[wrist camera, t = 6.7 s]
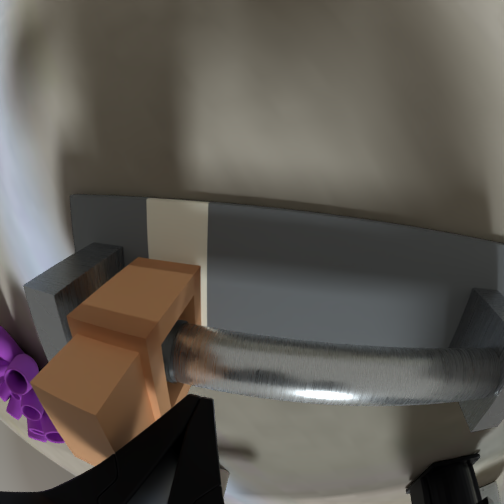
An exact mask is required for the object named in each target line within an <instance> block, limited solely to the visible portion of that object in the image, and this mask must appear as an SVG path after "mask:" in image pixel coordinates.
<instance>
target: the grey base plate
mask: <svg viewBox="0 0 504 504" xmlns="http://www.w3.org/2000/svg"><path fill="white" fill-rule="evenodd" d="M70 208H71V219H72V229H73V237H74V245H75V253H76V252H78V251H79V250H81V249H83V248H84V247H86V246H88V245H90V244H91V243H93V242H94V243H102V244H109V245H116V246H123V250H124V261H125V267H126V266H127V265H129V264H130V263H131V262H132V261H134V260H135V259H136V258H138V257H141V258H148V259H155V260H162V261H169V262H176V263H183V264H191V265H198V266H201V326H207V327H213V328H219V329H225V330H231V331H237V332H244V333H251V334H258V335H265V336H273V337H281V338H289V339H298V340H307V341H317V342H328V343H339V344H352V345H367V346H385V347H410V348H448V347H449V345H450V343H451V341H452V338H453V336H454V334H455V332H456V329H457V327H458V325H459V322H460V320H461V317H462V315H463V312H464V310H465V307H466V305H467V302H468V299H469V297H470V294H471V291H472V288H481V289H491V290H498V291H499V292H500V293H501V294H502V295H503V296H504V244H503V243H499V242H494V241H489V240H484V239H479V238H474V237H469V236H464V235H459V234H453V233H448V232H442V231H437V230H431V229H425V228H419V227H413V226H407V225H401V224H395V223H388V222H382V221H375V220H368V219H361V218H354V217H347V216H340V215H332V214H324V213H316V212H308V211H300V210H291V209H282V208H273V207H263V206H254V205H243V204H233V203H221V202H209V201H197V200H183V199H169V198H153V197H135V196H114V195H87V194H73V195H70Z"/></svg>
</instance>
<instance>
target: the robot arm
mask: <svg viewBox="0 0 504 504" xmlns="http://www.w3.org/2000/svg"><path fill="white" fill-rule="evenodd" d="M479 458H480V455H479V454H475V455H471V456H467V457H463V458H458V459H454V460H449V461H444V462H438V463H435V464H433V465H431V466H430V467H429V468H428V469H427V470H426V471H425V472H424V473H423V474H422V475H421V476H420V477H419V478H418V479H417V480H416V481H415V482H414V483H413V484H412V485H411V486H410V487H408V488H407V489H406V494H409V493H410V495H411V502H412V504H494V503H493V500H492V499H490V498H489V497H488V496H487V497H485V498H484V499H483V500H482V497H481V493H480V489H479V486H478V482H477V479H476V475H475V472H474V469H473V464H474V463H475V462H476V461H477V460H478V459H479ZM0 504H224V499H223V491H222V484H221V475H220V465H219V455H218V445H217V434H216V422H215V410H214V400H213V399H212V398H207V397H200V396H198V395H193V394H188V395H187V396H185V397H184V398H183V399H182V400H181V401H179V402H178V403H177V404H176V405H175V406H173V407H172V408H171V409H170V410H169V411H167V412H166V413H165V414H164V415H162V416H161V417H160V418H159V419H157V420H156V421H155V422H154V423H152V424H151V425H150V426H149V427H147V428H146V429H145V430H144V431H142V432H141V433H140V434H139V435H137V436H136V437H135V438H133V439H132V440H131V441H129V442H128V443H127V444H126V445H124V446H123V447H122V448H120V449H119V450H118V451H116V452H115V454H112V455H111V456H109V457H108V458H107V459H105V460H104V461H102V462H101V463H99V464H98V465H96V466H95V467H93V468H92V469H90V470H88V471H86V472H84V473H83V474H81V475H79V476H77V477H75V478H73V479H71V480H69V481H67V482H65V483H63V484H61V485H59V486H56V487H54V488H52V489H49V490H45V491H40V492H2V491H0Z"/></svg>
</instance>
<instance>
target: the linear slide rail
mask: <svg viewBox="0 0 504 504" xmlns="http://www.w3.org/2000/svg"><path fill="white" fill-rule="evenodd" d="M124 268H125V261H124V250H123V246H116V245H109V244H102V243H94V242H93V243H91V244H90V245H88V246H86V247H84V248H83V249H81V250H79V251H78V252H76V253H74V254H72V255H71V256H69V257H67V258H66V259H64V260H63V261H61V262H59V263H58V264H56V265H54V266H53V267H51V268H50V269H48V270H46V271H45V272H43V273H42V274H40V275H39V276H37V277H35V278H34V279H32V280H31V281H29V282H28V283H26V284H25V285H23V287H24V290H25V294H26V298H27V301H28V305H29V308H30V312H31V315H32V318H33V321H34V324H35V327H36V330H37V333H38V336H39V339H40V341H41V344H42V347H43V349H44V352H45V355H46V357H47V360H48V362H49V361H50V360H51V359H52V358H53V357H54V356H55V355H56V354H57V353H58V352H59V351H60V350H61V349H62V348H63V347H64V346H65V345H66V344H67V343H68V342H69V341H70V340H71V339H72V334H71V331H70V328H69V324H68V320H67V317H66V316H67V315H68V314H69V313H70V312H72V311H73V310H74V309H75V308H76V307H77V306H79V305H80V304H81V303H82V302H83V301H85V300H86V299H87V298H88V297H89V296H90V295H92V294H93V293H94V292H95V291H96V290H98V289H99V288H100V287H101V286H103V285H104V284H105V283H106V282H107V281H109V280H110V279H111V278H112V277H114V276H115V275H116V274H117V273H119V272H120V271H121V270H122V269H124ZM161 348H162V355H163V362H164V369H165V375H166V381H167V382H171V383H177V382H179V383H184V384H188V385H192V386H197V387H202V388H207V389H212V390H217V391H222V392H227V393H233V394H239V395H245V396H252V397H259V398H266V399H274V400H282V401H291V402H301V403H313V404H328V405H349V406H404V405H424V404H438V403H449V402H459V405H460V407H461V409H462V412H463V414H464V417H465V419H466V421H467V424H468V426H469V429H470V431H471V432H475V431H479V430H484V429H488V428H492V427H496V426H498V425H499V424H500V423H501V421H502V420H503V419H504V296H503V295H502V294H501V293H500V292H499V291H498V290H491V289H481V288H472V291H471V294H470V297H469V299H468V302H467V305H466V307H465V310H464V312H463V315H462V317H461V320H460V322H459V325H458V327H457V329H456V332H455V334H454V336H453V338H452V341H451V343H450V345H449V347H448V348H410V347H385V346H367V345H352V344H339V343H328V342H317V341H307V340H298V339H289V338H281V337H273V336H265V335H258V334H251V333H244V332H237V331H231V330H225V329H219V328H213V327H207V326H201V325H196V324H190V323H188V322H187V321H185V320H180V319H178V320H177V321H176V323H175V324H174V326H173V327H172V329H171V331H170V332H169V334H168V335H167V337H166V338H165V340H164V341H163V343H162V344H161Z"/></svg>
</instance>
